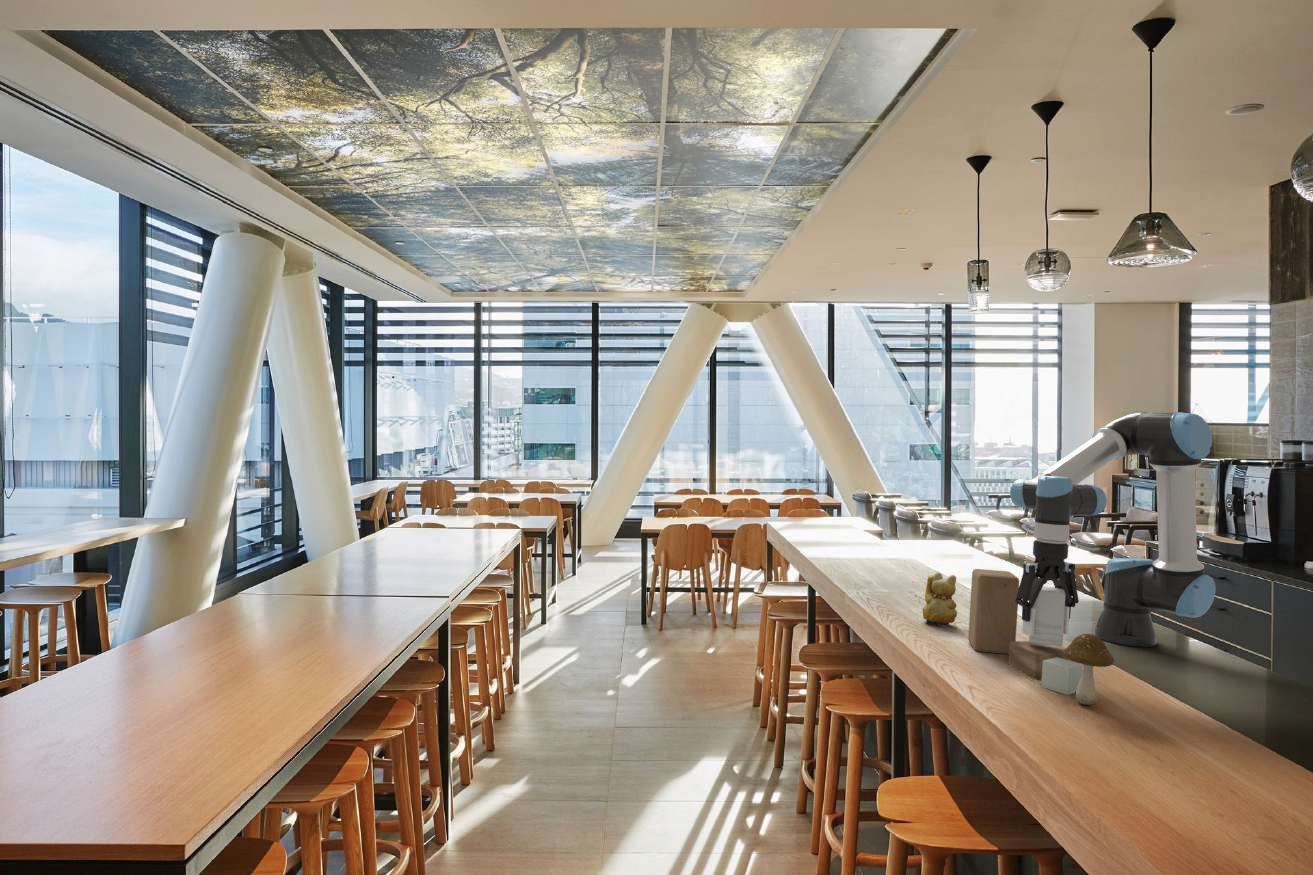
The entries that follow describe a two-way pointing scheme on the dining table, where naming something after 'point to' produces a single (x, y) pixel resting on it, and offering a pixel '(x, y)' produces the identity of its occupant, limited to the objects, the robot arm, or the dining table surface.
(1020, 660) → the base block
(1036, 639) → the supplement box
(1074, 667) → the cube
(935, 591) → the decorative figurine
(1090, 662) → the mushroom
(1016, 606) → the wooden block
